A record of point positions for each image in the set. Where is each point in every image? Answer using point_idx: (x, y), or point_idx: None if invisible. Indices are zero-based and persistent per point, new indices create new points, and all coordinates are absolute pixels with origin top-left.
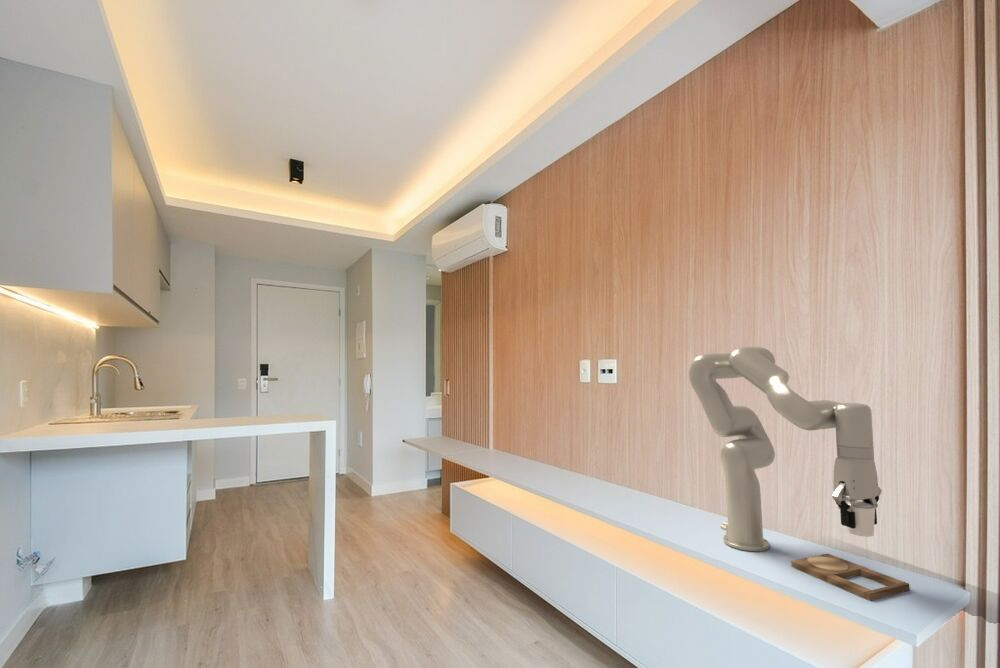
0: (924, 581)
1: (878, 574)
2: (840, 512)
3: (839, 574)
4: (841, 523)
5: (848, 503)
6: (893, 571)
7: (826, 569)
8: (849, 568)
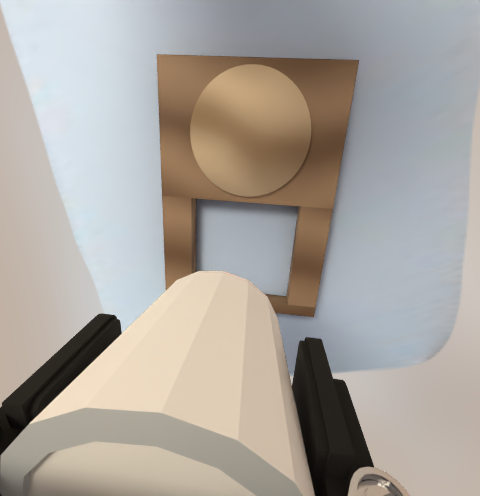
0: (406, 301)
1: (307, 254)
2: (36, 371)
3: (215, 199)
4: (99, 316)
5: (81, 476)
6: (418, 233)
7: (200, 167)
8: (278, 191)
